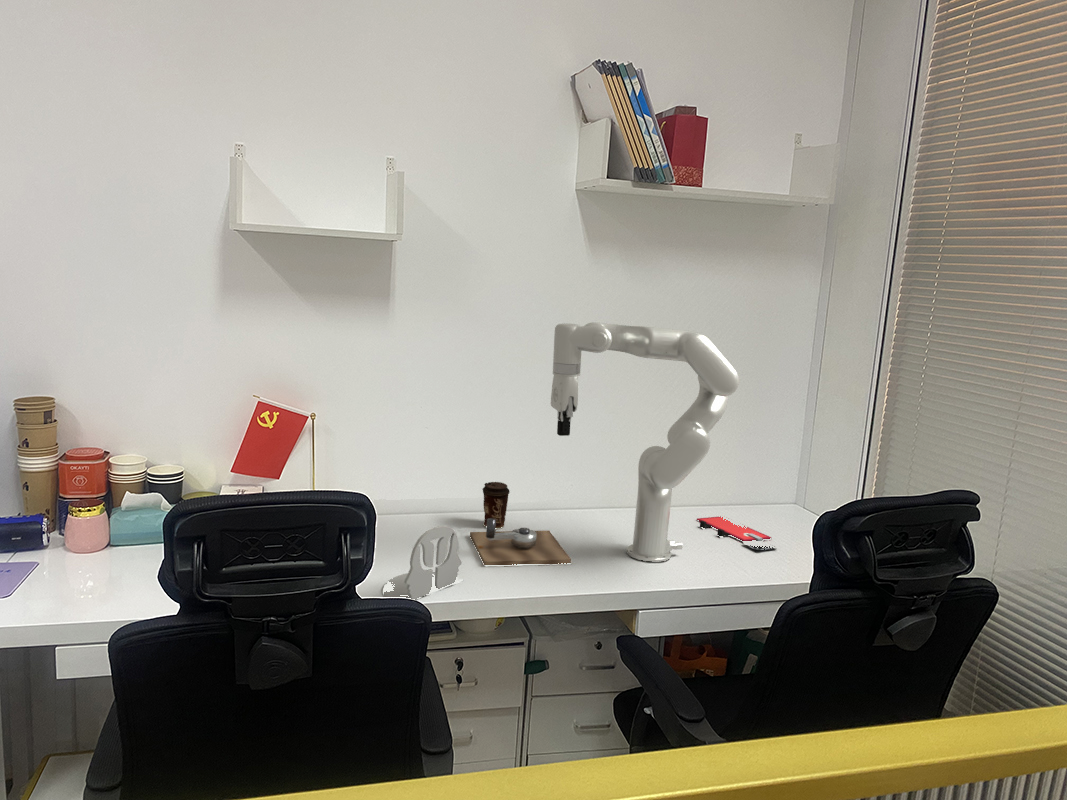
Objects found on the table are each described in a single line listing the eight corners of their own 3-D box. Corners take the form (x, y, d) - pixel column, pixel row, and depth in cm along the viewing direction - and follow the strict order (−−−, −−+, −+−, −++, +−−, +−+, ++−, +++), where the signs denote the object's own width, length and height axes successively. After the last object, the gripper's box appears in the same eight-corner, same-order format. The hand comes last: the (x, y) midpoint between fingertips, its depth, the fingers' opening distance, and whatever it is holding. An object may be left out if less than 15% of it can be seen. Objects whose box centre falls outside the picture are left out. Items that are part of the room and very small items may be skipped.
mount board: (548, 535, 239) (549, 528, 239) (570, 564, 217) (571, 556, 217) (469, 536, 233) (470, 529, 233) (484, 567, 211) (484, 559, 211)
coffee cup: (475, 521, 247) (478, 481, 244) (500, 519, 250) (503, 479, 248) (486, 531, 239) (488, 489, 237) (511, 529, 242) (514, 487, 240)
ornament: (400, 607, 184) (403, 538, 181) (362, 590, 192) (364, 523, 189) (465, 581, 202) (468, 518, 199) (427, 566, 209) (430, 505, 207)
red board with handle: (751, 554, 236) (788, 549, 243) (753, 545, 235) (790, 540, 242) (687, 523, 262) (722, 520, 269) (688, 515, 261) (723, 512, 268)
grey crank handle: (530, 537, 229) (532, 512, 227) (539, 546, 222) (541, 520, 221) (481, 541, 223) (483, 515, 222) (489, 550, 217) (491, 524, 215)
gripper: (545, 365, 223) (542, 429, 227) (562, 373, 209) (558, 441, 212) (570, 365, 225) (567, 428, 229) (588, 373, 211) (585, 440, 214)
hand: (563, 434), depth 220 cm, fingers closed
